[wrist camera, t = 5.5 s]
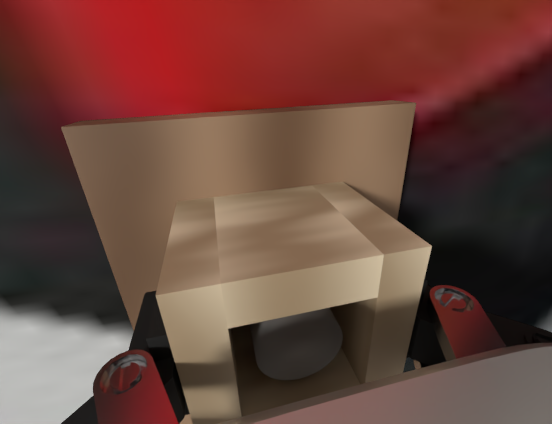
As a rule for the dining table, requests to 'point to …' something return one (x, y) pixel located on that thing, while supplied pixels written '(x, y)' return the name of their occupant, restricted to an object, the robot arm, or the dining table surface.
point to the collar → (285, 292)
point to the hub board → (234, 191)
